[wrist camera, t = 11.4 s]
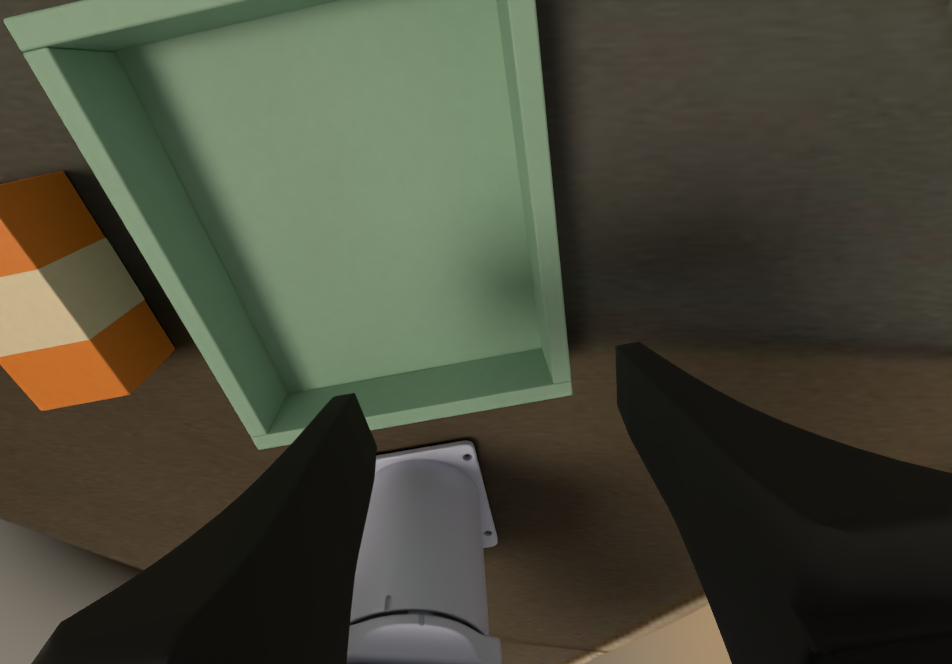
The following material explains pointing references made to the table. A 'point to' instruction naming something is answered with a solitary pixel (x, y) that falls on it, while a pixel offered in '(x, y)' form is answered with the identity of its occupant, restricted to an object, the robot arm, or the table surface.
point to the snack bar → (68, 301)
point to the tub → (328, 193)
